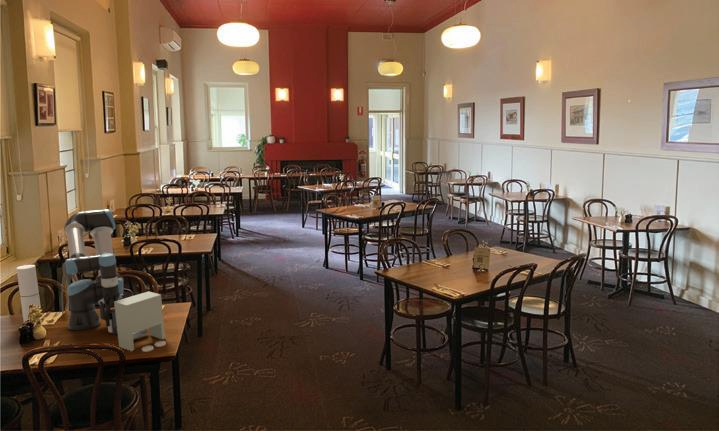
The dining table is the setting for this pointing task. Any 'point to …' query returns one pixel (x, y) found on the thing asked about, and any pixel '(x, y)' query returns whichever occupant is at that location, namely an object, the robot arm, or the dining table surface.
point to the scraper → (114, 326)
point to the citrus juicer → (68, 278)
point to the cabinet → (139, 317)
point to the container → (28, 288)
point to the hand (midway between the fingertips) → (114, 330)
